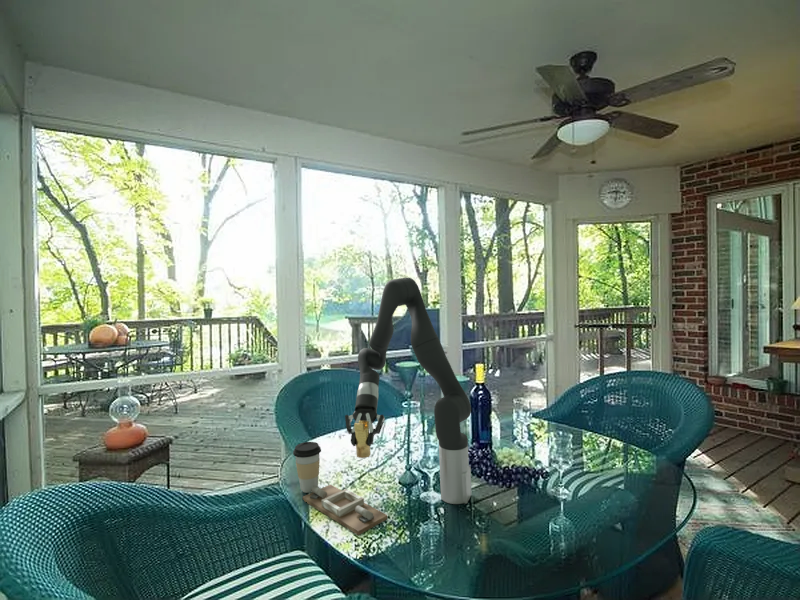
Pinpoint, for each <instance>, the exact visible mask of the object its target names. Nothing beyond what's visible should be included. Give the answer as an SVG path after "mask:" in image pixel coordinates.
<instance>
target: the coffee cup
mask: <svg viewBox="0 0 800 600" xmlns="http://www.w3.org/2000/svg"><path fill="white" fill-rule="evenodd" d="M292 451H293V452H292V455H293V456H294V458H295V464H296V465H295V466H296V472H297V477H298V481H299V487H300V491H301V490H302V491H303V492H302V491H301V492H302V493H307V494H309V493H312V487H313V486H316V487H318V488H319V476H320V453H321V452H322V449H321V446H320V444H319V443H318V442H317V441H316V442H315V441H304V442H300V443H298V444H296V445H295V446H294V449H293V450H292Z"/></svg>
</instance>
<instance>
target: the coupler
mask: <svg viewBox="0 0 800 600" xmlns="http://www.w3.org/2000/svg"><path fill="white" fill-rule="evenodd" d="M354 423H355V422H354ZM353 427H355V438H356V446H355V452H356V457H357V458H359V459H365V458H368V457H370V456H371V455H372V454H371V446H368V436H369V433H370V430H369V421H365V420H360V421H359V423H355V424H353Z"/></svg>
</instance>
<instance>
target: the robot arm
mask: <svg viewBox="0 0 800 600" xmlns="http://www.w3.org/2000/svg"><path fill="white" fill-rule="evenodd" d="M381 295H382V296H381V300H380V304H379V308H378V309H379V310H378V315H377V319H376V324H375V326H374V329H373V331H372V334H371V336H370V338H369V342H368V344H369V345H368V346H369V347H363V348H362V349H360V351H359V352H358V355H357V362H358V369H359V383H358V389H357V391H356V399H355V406H354V412H353V413H352V414H351V415H348V414H345V415H344V420H345V427H346V428H345V429H346V431H347V433H348V434H349V435H351V436H350V443H351V445H352V447H356V438H355V427H354V426H353V427H352V424H351V423H352V421H353V419H354V421H355V422H353V423H354V424H355V423H359V421H360V420H365V421H369V436H368V446H370V447H371V446H372V445H373V444H374V440H375V439H374V438H375V435H379V434H380V433H381V430H382V428H383V426H384V423H385V420H386V418H385V416H384V414H378V412H377V409H378V404H379V403H378V402H379V386H380V374H379V372H378V371H380V370H383V369H384V368H385V366H386V362H387V351H388V347H389V344H390V342H391V340H392V338H393V335H394V323H393V315H394V313H395V311H396V310H397V308H398V307H400V306H401V307H402V306H405V307H406V309H407V310H408V313H409V316H410V319H411V329H410V330H411V331H410V344H411V348H412V350H413V353H414V356H415V358H416V360H417V362H418V363H419V365H420V366H421V367H422V368H423V369H424V371H426V372H427V373H428V374H429V376H431V378H433V379H434V380H435V382H436V383H437V384H438V386H439V388H440V390H441V393H442V395H443V396H442V397H441V398H439V399H437V401H436V403H435V404H434V411H433V413H434V416H433V417H434V428H435V435H436V438H437V440H438V441H437V442H438V454H439V455H438V456H439V460H438V461H439V482H440V498H441V500H442V501H443V502H445V503H446V504H447V503H448V504H451V505H452V504H453V505H460V504H468V502H469V501H470V498H471V497H472V473H471V472H472V470H471V469H472V468H471V466H470V465H469V439H468V436H467V434H465V433H464V432H462V431H461V423H462V422H464V421H465V420H467V419H468V418H469V417H470V416H471V413H472V405H471V402H470V399H469V397H468V395H467V394H466V392H465V390H464V388H463V387H462V385H461V383H460V382H459V380H458V378H457V376H456V374H455V372H454V369H453V367H452V365H451V363H450V362H449V359H448V357H447V354H446V353H445V350H444V348H443V345H442V342H441V341H440V339H439V336H438V334H437V333H436V331H435V329H434V326H433V323H432V321H431V319H430V318H431V317H430V316H429V313H428V311H427V308H426V306H425V302H424V299H423V296H422V293H421V289H420V287H419V285H418V283H417V282H416V281H415V279H413V278H412V277H400V278H393V279H390V280H387V282H386V283H385V285H384V287H383V290H382V294H381ZM376 370H377V371H376ZM376 420H377V423H376V426H375V428H374V425H373V424H374V422H375V421H376ZM354 424H353V425H354Z"/></svg>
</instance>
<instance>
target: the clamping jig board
mask: <svg viewBox="0 0 800 600" xmlns="http://www.w3.org/2000/svg"><path fill="white" fill-rule="evenodd" d="M303 500H304V501H303ZM302 501H303V502H305V503H306V502H307V503H306V504H308V505H310V506H311V507H313V508H314V509H316V510H318V511H319V512H320V513H322V514H324V515H326V516H327V517H329V518H330V519H332V520H334V521H335V522H337V523H338V524H340V525H342V526H343V527H345V528H346V529H348V530H349V531H351V532H353V533H354V534H356V535H357V536H360V535H361V534H363V533H366V532H367V531H369V530H370V529H372V528H374V527H376V526H378V525H379V524H381V523H383V522H384V521H387V520H388V514H386V513H384V512H383V511H380V510H379V509H377V508H374V507H373V506H371V505H370V504H367V503H366V502H365V498H364V497H362V496H360V495H358V494H356V493H354V492H353V491H351V490H348V489H347V488H344V489H342V490H341V489H339V488H337V487H336V486H334V485H332V484H329V485H326V486H324V487H321V488H320V487H319V486H318V487H316V486H313V487H312V492H309V493H307V494H306V495H303V496H302Z"/></svg>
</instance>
